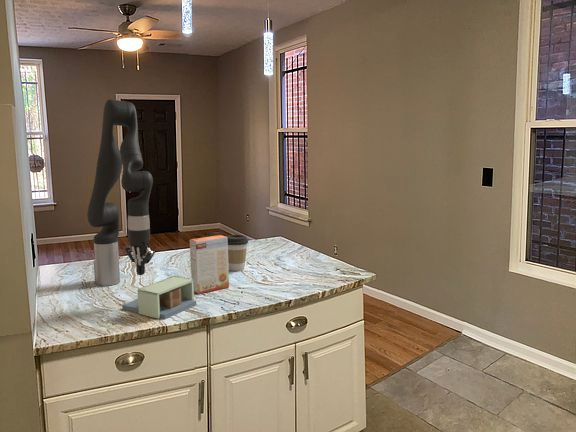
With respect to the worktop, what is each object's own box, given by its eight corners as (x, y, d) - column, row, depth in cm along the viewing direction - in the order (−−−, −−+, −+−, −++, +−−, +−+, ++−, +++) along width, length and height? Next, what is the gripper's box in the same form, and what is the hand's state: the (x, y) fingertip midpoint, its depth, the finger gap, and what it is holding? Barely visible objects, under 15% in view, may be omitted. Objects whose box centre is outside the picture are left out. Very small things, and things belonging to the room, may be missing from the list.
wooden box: (159, 306, 177) (158, 289, 176) (169, 301, 181) (169, 285, 180) (170, 308, 174) (170, 292, 173) (181, 304, 179) (180, 287, 178)
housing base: (122, 308, 178) (121, 293, 177) (155, 296, 192) (154, 282, 191) (165, 319, 168) (164, 303, 168) (196, 304, 182) (195, 290, 181)
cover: (138, 313, 173) (137, 289, 171) (175, 298, 188) (174, 275, 187) (158, 318, 168) (157, 293, 167) (194, 302, 184) (193, 279, 183)
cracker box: (222, 284, 207) (220, 234, 203) (229, 287, 202) (228, 236, 198) (190, 290, 198) (189, 238, 195) (197, 294, 194) (196, 241, 190)
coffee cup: (250, 266, 234) (250, 234, 231) (246, 272, 223) (246, 239, 220) (226, 265, 235) (226, 233, 233) (221, 272, 224) (220, 239, 221)
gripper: (160, 227, 179) (161, 274, 182) (133, 223, 185) (135, 269, 189) (144, 231, 173) (146, 280, 176) (117, 227, 179) (119, 274, 182)
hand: (140, 274), depth 182 cm, fingers closed
